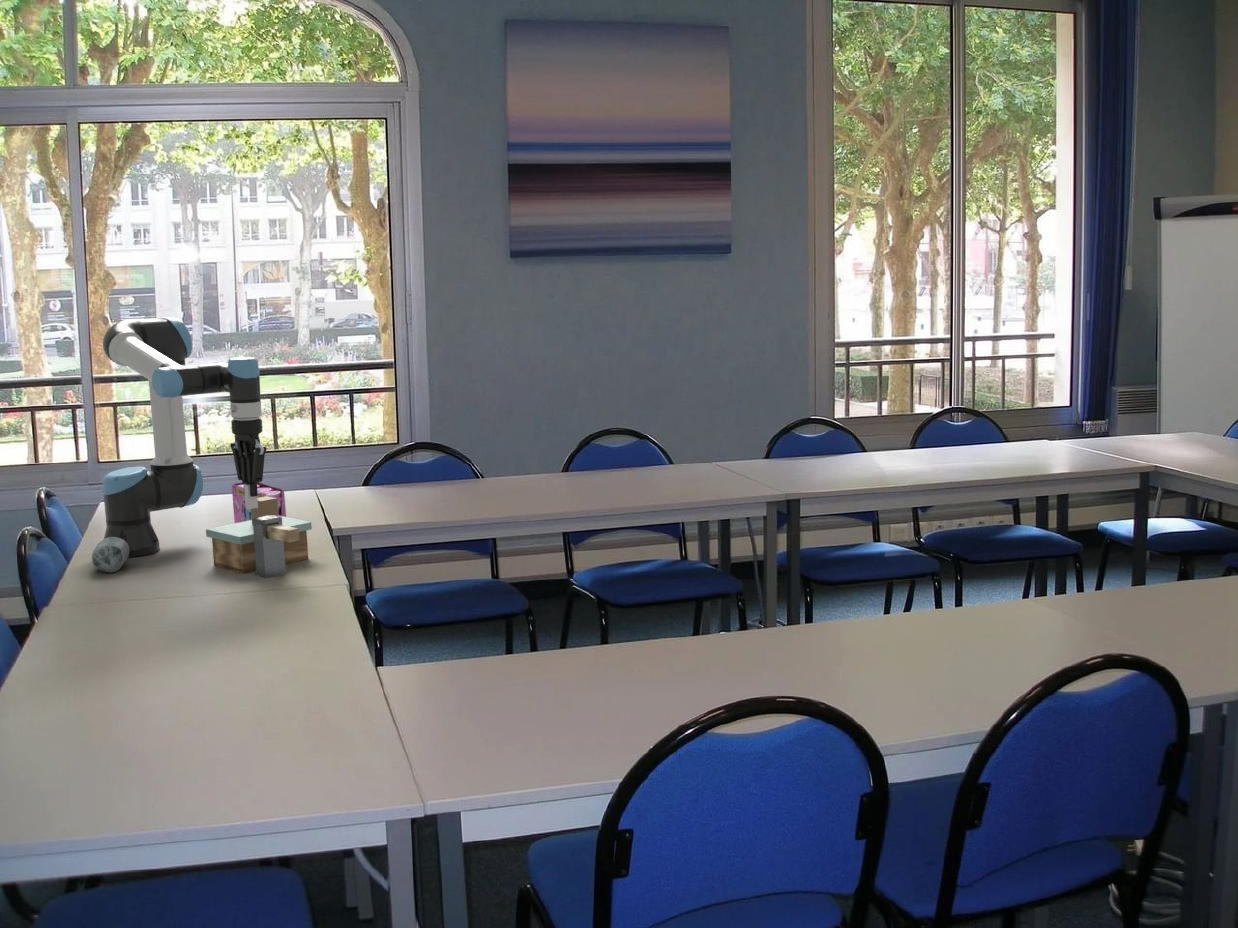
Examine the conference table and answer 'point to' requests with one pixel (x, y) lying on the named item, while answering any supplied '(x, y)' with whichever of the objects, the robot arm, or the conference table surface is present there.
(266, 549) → the keeper
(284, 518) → the lid
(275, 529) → the wooden bar
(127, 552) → the spool
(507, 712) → the conference table surface
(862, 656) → the conference table surface
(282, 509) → the gum box
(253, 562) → the open wooden box
